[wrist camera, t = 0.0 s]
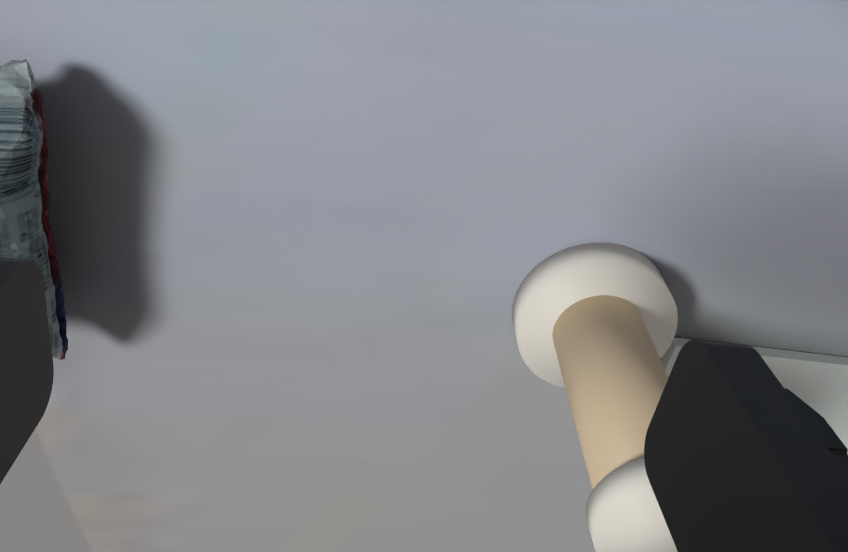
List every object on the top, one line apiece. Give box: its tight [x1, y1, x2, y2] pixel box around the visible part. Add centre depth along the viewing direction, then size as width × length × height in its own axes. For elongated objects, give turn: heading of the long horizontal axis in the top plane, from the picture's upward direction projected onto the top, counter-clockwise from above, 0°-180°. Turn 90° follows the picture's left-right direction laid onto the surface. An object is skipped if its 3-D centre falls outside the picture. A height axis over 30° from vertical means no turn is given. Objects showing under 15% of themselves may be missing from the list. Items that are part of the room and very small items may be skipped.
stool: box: [513, 243, 678, 552], centre depth 26 cm, size 6×6×11 cm
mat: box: [661, 338, 848, 454], centre depth 35 cm, size 12×12×1 cm
